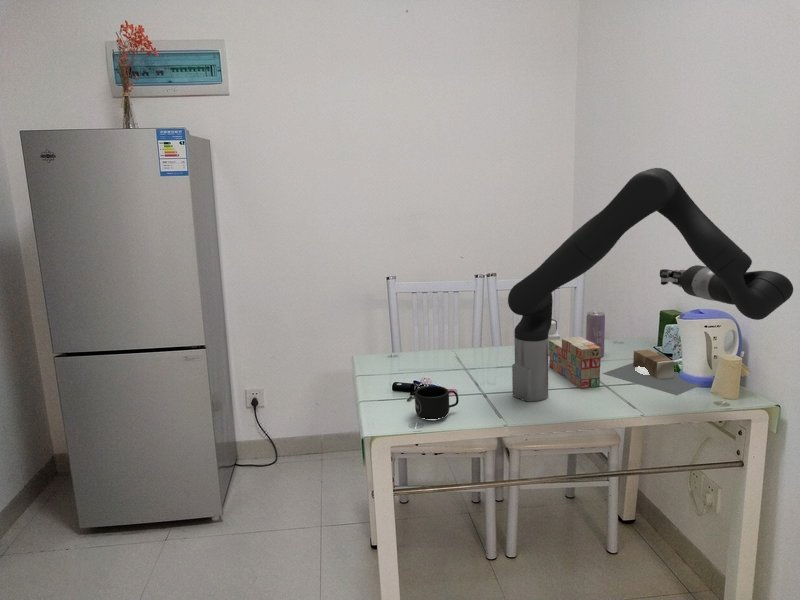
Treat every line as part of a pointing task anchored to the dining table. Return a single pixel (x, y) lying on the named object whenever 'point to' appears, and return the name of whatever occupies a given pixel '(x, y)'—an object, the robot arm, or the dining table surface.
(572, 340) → the stack of blocks
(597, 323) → the beverage can
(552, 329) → the medicine bottle
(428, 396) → the mug
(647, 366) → the wooden block
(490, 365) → the dining table surface
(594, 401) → the dining table surface
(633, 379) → the mat
